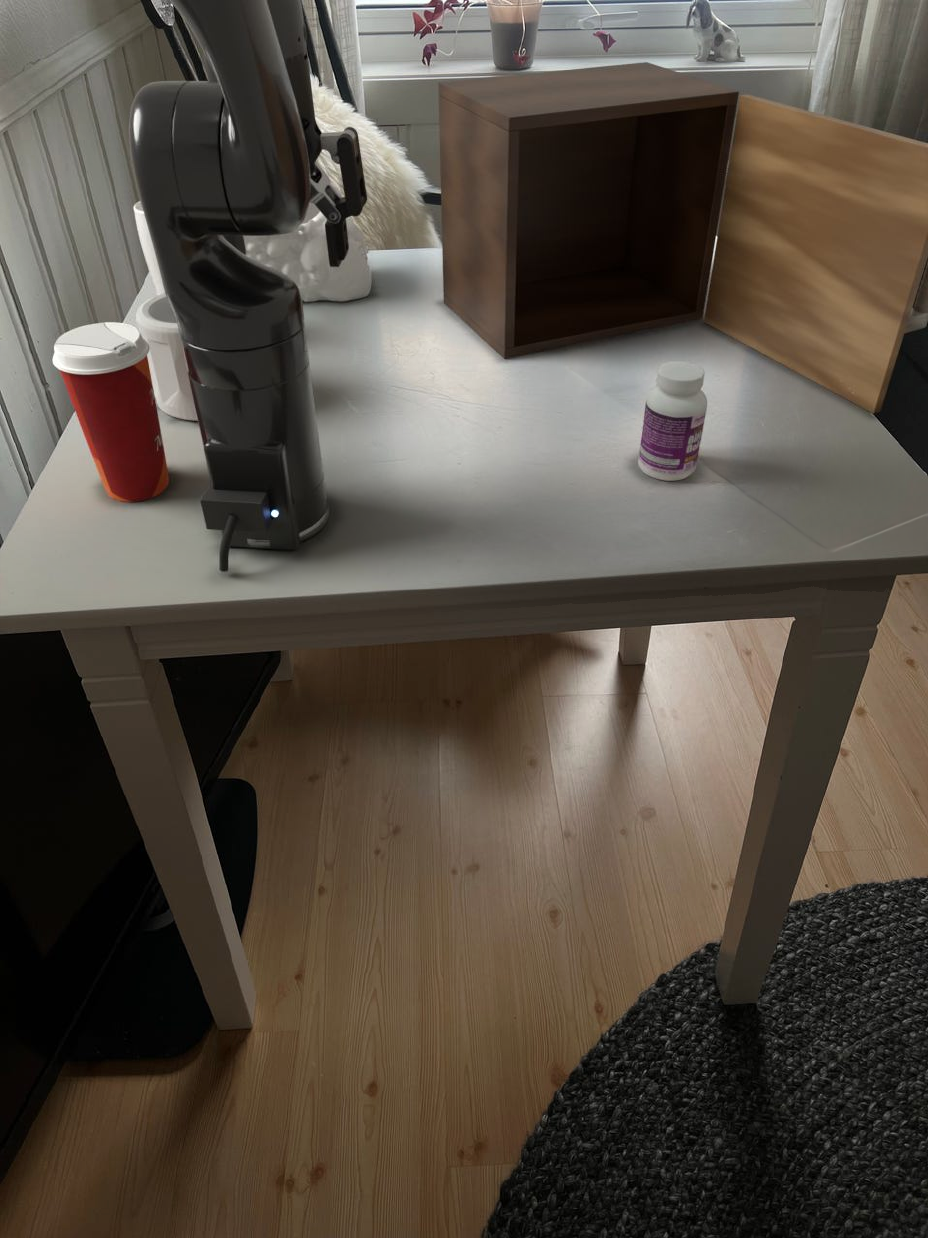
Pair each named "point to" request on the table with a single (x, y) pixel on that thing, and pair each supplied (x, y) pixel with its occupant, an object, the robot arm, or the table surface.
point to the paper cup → (115, 406)
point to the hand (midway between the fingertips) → (287, 261)
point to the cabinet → (580, 201)
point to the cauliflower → (315, 259)
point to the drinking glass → (148, 248)
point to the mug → (166, 358)
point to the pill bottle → (673, 422)
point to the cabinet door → (822, 246)
